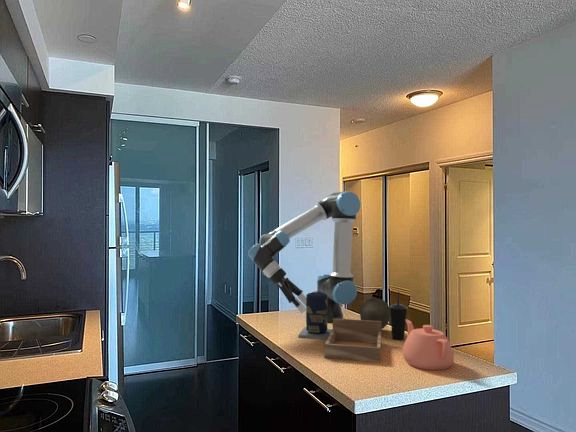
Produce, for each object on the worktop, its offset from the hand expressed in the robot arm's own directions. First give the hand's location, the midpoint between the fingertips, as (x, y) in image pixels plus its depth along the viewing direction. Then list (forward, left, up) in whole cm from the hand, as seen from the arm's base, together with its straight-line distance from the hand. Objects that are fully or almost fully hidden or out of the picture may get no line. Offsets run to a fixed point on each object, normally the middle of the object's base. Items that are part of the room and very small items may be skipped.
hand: (306, 308), depth 196 cm
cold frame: (+20, +22, -11) cm, 32 cm away
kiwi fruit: (-12, +29, -12) cm, 34 cm away
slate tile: (0, +4, -11) cm, 12 cm away
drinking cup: (-2, +39, -12) cm, 41 cm away
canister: (-1, +4, -11) cm, 11 cm away
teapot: (+29, +48, -12) cm, 57 cm away
